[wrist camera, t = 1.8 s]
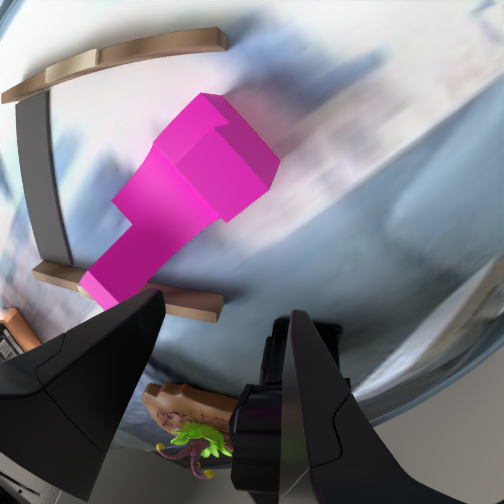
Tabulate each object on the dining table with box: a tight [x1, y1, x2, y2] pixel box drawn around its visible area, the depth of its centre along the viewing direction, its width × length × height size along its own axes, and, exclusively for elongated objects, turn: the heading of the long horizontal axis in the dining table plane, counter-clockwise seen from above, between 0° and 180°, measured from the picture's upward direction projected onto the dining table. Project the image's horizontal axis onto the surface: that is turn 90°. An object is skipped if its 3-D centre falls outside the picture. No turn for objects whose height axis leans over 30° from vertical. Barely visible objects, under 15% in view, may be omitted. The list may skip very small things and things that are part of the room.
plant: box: [142, 382, 239, 479], centre depth 34 cm, size 20×20×11 cm
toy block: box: [79, 93, 280, 311], centre depth 18 cm, size 15×6×8 cm, turn 131°
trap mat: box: [15, 91, 73, 266], centre depth 23 cm, size 6×19×1 cm, turn 178°
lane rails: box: [1, 27, 228, 323], centre depth 20 cm, size 24×23×3 cm
